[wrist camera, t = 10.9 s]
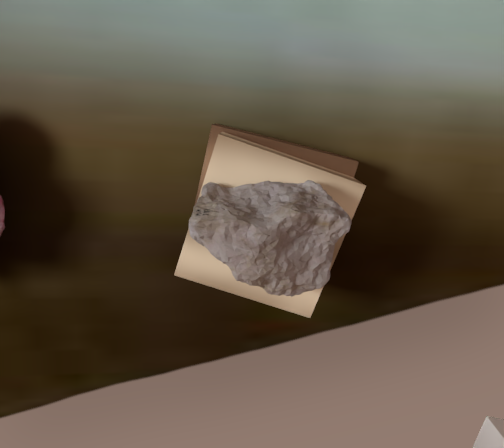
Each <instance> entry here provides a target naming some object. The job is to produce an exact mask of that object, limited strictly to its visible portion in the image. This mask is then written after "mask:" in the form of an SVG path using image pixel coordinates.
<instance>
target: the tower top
mask: <svg viewBox="0 0 504 448" xmlns="http://www.w3.org/2000/svg"><path fill="white" fill-rule="evenodd" d="M307 180H311V181H314V182H315V183H318V184H320V185H321V186H322V188H323V190H325V191H326V192H327V194H328V195H330V196H331V197H332V199H333V200H334V201H335V202H337V203H338V204H339V205H340V206H341V208H342V209H343V210H344V211H345V212H346V213H347V214H348V215H349V217H350V218H351V221H352V218H353V216H354V214H355V211H356V209H357V207H358V204H359V202H360V200H361V197H362V195H363V193H364V190H365V188H366V185H364V184H363V183H361V182H360V181H358V180H356V179H355V178H353V177H351V176H348V175H345V174H342V173H339V172H336V171H334V170H331V169H328V168H325V167H322V166H319V165H317V164H314V163H311V162H308V161H305V160H302V159H299V158H297V157H294V156H291V155H288V154H285V153H282V152H280V151H277V150H274V149H271V148H268V147H265V146H262V145H260V144H257V143H254V142H251V141H248V140H245V139H243V138H240V137H237V136H234V135H231V134H228V133H225V132H221V133H219V134H218V137H217V140H216V143H215V147H214V150H213V153H212V156H211V159H210V162H209V166H208V169H207V172H206V175H205V178H204V182H203V185H202V187H203V186H204V185H205V184H207V183H209V182H213V183H217V184H219V185H220V186H222V187H225V188H234V187H237V186H241V185H245V184H256V183H260V182H264V181H271V182H282V183H296V184H298V183H304V182H305V181H307ZM201 191H202V188H201ZM201 191H200V194H199V197H201V195H202V194H201ZM199 197H198V198H199ZM345 235H346V234H344V235H343V236H342V237H340V238H339V239H338V241H337V242H336V243H335V248H334V252H333V257H332V262H331V265H330V268H329V269H330V270H331V268H332V265H333V263H334V261H335V258H336V256H337V254H338V251H339V249H340V246H341V244H342V242H343V239H344V237H345ZM174 275H175V276H179V277H182V278H185V279H188V280H191V281H194V282H198V283H201V284H204V285H207V286H210V287H213V288H217V289H220V290H223V291H226V292H229V293H232V294H236V295H239V296H242V297H245V298H248V299H251V300H255V301H258V302H261V303H264V304H267V305H270V306H274V307H277V308H280V309H283V310H286V311H290V312H293V313H296V314H299V315H302V316H305V317H309V318H310V317H311V315H312V312H313V310H314V307H315V305H316V303H317V300H318V298H319V296H320V293H321V291H322V289H323V287H322V288H320V289H315V290H313V291H307V292H303V293H302V294H300V295H294V296H292V297H291V296H285V295H280V296H278V295H271V294H268V293H267V292H266V291H265V290H264V289H263V288H262V287H260V286H251V285H248V284H247V283H243V282H240V281H237V280H236V279H235V278H234V276H233V274H232V271H231V270H230V268H229V266H227V265H226V264H224V263H222V261H220V260H218V259H216V258H215V257H214V256H213V255H212V254H211V253H210V252H209V250H208V249H207V248H206V247H205V246H202V245H201V244H199V243H197V242H196V241H195V240H194V239H192V237H191V236H190V233H189V229H188V232H187V236H186V239H185V242H184V245H183V248H182V252H181V255H180V258H179V261H178V264H177V267H176V271H175V274H174Z"/></svg>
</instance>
